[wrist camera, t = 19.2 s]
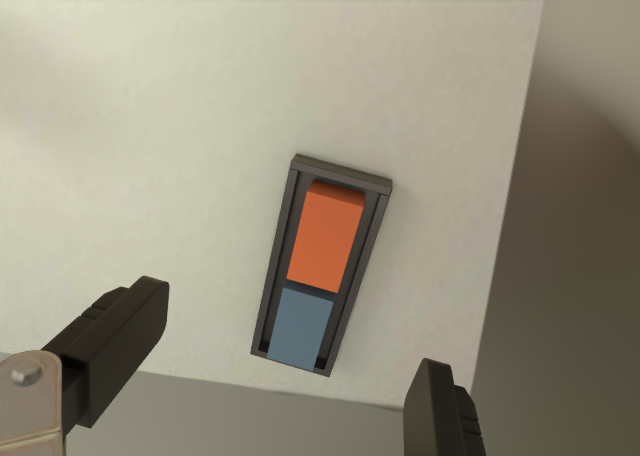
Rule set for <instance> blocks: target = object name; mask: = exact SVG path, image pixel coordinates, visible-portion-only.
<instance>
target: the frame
mask: <svg viewBox="0 0 640 456" xmlns="http://www.w3.org/2000/svg"><path fill="white" fill-rule="evenodd" d="M313 180H317V181H321V182H325V183H328V184H332V185H335V186H339V187H343V188H346V189H350V190H354V191H357V192H361V193H364V194H366V196H365V202H364V208H363V212H362V215H361V218H360V221H359V225H358V228H357V231H356V235H355V238H354V241H353V244H352V248H351V251H350V254H349V257H348V261H347V264H346V267H345V271H344V274H343V277H342V280H341V284H340V287H339V290H338V293H336V294H335V298H334V303H333V306H332V309H331V313H330V316H329V319H328V323H327V326H326V329H325V332H324V336H323V339H322V342H321V345H320V349H319V352H318V355H317V359H316V362H315V365H314V368H313V371H310V370H306V369H303V368H300V367H296V366H293V365H289V364H286V363H283V362H279V361H276V360H273V359H269V358H267V354H268V349H269V345H270V341H271V337H272V333H273V328H274V324H275V320H276V316H277V311H278V307H279V303H280V299H281V295H282V290H283V287H284V285H285V282H286V280H287V274H288V270H289V266H290V261H291V257H292V253H293V249H294V244H295V240H296V236H297V232H298V227H299V223H300V219H301V215H302V210H303V206H304V202H305V198H306V194H307V191H308V189H309V187H310V185H311V183H312V182H313ZM391 191H392V180H390V179H386V178H383V177H379V176H376V175H372V174H368V173H365V172H361V171H357V170H354V169H350V168H347V167H343V166H339V165H336V164H332V163H328V162H325V161H321V160H318V159H314V158H310V157H307V156H303V155H299V154H296V155H295V157H294V158H293V159H292V160H291V164H290V169H289V173H288V178H287V182H286V187H285V192H284V196H283V201H282V206H281V211H280V215H279V220H278V225H277V229H276V234H275V239H274V243H273V248H272V253H271V257H270V262H269V267H268V272H267V276H266V281H265V286H264V290H263V295H262V300H261V304H260V309H259V314H258V318H257V323H256V328H255V333H254V337H253V342H252V347H251V352H250V354H252V355H255V356H259V357H262V358H265V359H269V360H272V361H275V362H279V363H282V364H286V365H289V366H292V367H296V368H299V369H302V370H306V371H309V372H313V373H316V374H319V375H323V376H326V377H330V374H331V372H332V369H333V366H334V363H335V359H336V356H337V353H338V350H339V347H340V344H341V341H342V338H343V335H344V332H345V329H346V326H347V323H348V320H349V317H350V314H351V311H352V308H353V305H354V302H355V299H356V296H357V293H358V290H359V287H360V284H361V281H362V278H363V275H364V272H365V269H366V266H367V263H368V260H369V257H370V254H371V251H372V248H373V245H374V242H375V239H376V236H377V233H378V230H379V227H380V224H381V221H382V218H383V215H384V212H385V209H386V206H387V203H388V200H389V197H390V194H391Z"/></svg>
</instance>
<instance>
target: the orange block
mask: <svg viewBox="0 0 640 456" xmlns="http://www.w3.org/2000/svg"><path fill="white" fill-rule="evenodd" d="M365 196H366V194H364V193H361V192H357V191H354V190H350V189H346V188H343V187H339V186H335V185H332V184H328V183H325V182H321V181H317V180H313V182H312V183H311V185H310V187H309V189H308V191H307V194H306V198H305V202H304V206H303V210H302V215H301V219H300V223H299V227H298V232H297V236H296V240H295V244H294V249H293V253H292V257H291V261H290V266H289V270H288V274H287V279H290V280H293V281H297V282H300V283H304V284H307V285H311V286H314V287H318V288H321V289H325V290H328V291H332V292H335V293H338V290H339V287H340V284H341V280H342V277H343V274H344V271H345V267H346V264H347V261H348V257H349V254H350V251H351V248H352V244H353V241H354V238H355V235H356V231H357V228H358V225H359V221H360V218H361V215H362V212H363V208H364V202H365Z"/></svg>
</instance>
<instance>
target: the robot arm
mask: <svg viewBox="0 0 640 456" xmlns="http://www.w3.org/2000/svg"><path fill="white" fill-rule="evenodd" d="M168 299H169V283H168V282H165V281H162V280H158V279H155V278H151V277H148V276H142V277H141V278H139V279H138V280H137V281H136V282H135V283H134V284H133V285H132V286H131V287H130V288H129V289H128V288H125V287H119V288H117V289H114V290H112V291H110V292H107V293H105V294H104V295H102V296H101V297H100V298H99V299H98V300H97V301H96V302H94V303H93V304H92V306H91V307H89V308H88V309H86V310H85V311H84V312H83V313H82V315H81V316H78V317H77V318H76V319H75V320H74V321H73V322H72V323H70V324H69V325H68V326H67V327H66V328H65V329H64V330H62V331H61V332H60V333H59V334H58V335H57V336H56V337H54V338H53V339H52V340H51V341H50V342H49V343H48V344H47V345H45V346H44V347H43V348H42V349H41V350H32V351H25V352H21V353H18V354H15V355H13V356H11V357H9V358H7V359H5V360H3V361H2V362H1V363H0V456H66V435H67V434H68V433H69V432H70V431H71V429H72V428H73V427H74V426H75V425H76V424H78V425H81V426H84V427H87V428H91V427H92V426H93V425H94V424H95V422H96V421H97V420H98V418H99V417H100V416H101V415H102V413H103V412H104V411H105V409H106V408H107V407H108V406H109V404H110V403H111V402H112V400H113V399H114V398H115V397H116V395H117V394H118V393H119V392H120V390H121V389H122V388H123V386H124V385H125V384H126V382H127V381H128V380H129V379H130V377H131V376H132V375H133V373H134V372H135V371H136V370H137V368H138V367H139V366H140V365H141V363H142V362H143V361H144V359H145V358H146V357H147V356H148V354H149V353H150V352H151V350H152V349H153V348H154V347H155V345H156V344H157V343H158V341H159V340H160V338H161V337H162V335H163V332H164V330H165V327H166V322H167V311H168ZM403 425H404V456H486V453H485V448H484V444H483V439H482V437H481V431H480V426H479V423H478V417H477V413H476V409H475V404H474V402H473V401H472V399H471V398H470V396H469V394H468V393H467V391H466V390H465V388H464V387H460V386H457V385H454V381H453V375H452V370H451V366H450V365H448V364H445V363H441V362H438V361H435V360H431V359H428V358H424V359H423V360H422V362H421V364H420V366H419V368H418V370H417V373H416V375H415V377H414V379H413V382H412V384H411V386H410V388H409V391H408V393H407V396H406V399H405V404H404V410H403Z"/></svg>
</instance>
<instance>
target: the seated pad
mask: <svg viewBox="0 0 640 456" xmlns="http://www.w3.org/2000/svg"><path fill="white" fill-rule="evenodd" d="M335 294H336V293H335V292H332V291H328V290H325V289H321V288H318V287H314V286H311V285H307V284H304V283H300V282H297V281H293V280H290V279H287V280H286V282H285V285H284V287H283V290H282V295H281V299H280V303H279V307H278V311H277V316H276V320H275V324H274V328H273V333H272V337H271V341H270V345H269V349H268V354H267V358H269V359H273V360H276V361H279V362H283V363H286V364H289V365H293V366H296V367H300V368H303V369H306V370H310V371H313V368H314V365H315V362H316V359H317V355H318V352H319V349H320V345H321V342H322V339H323V336H324V332H325V329H326V326H327V323H328V319H329V316H330V313H331V309H332V306H333V303H334V298H335Z"/></svg>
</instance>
